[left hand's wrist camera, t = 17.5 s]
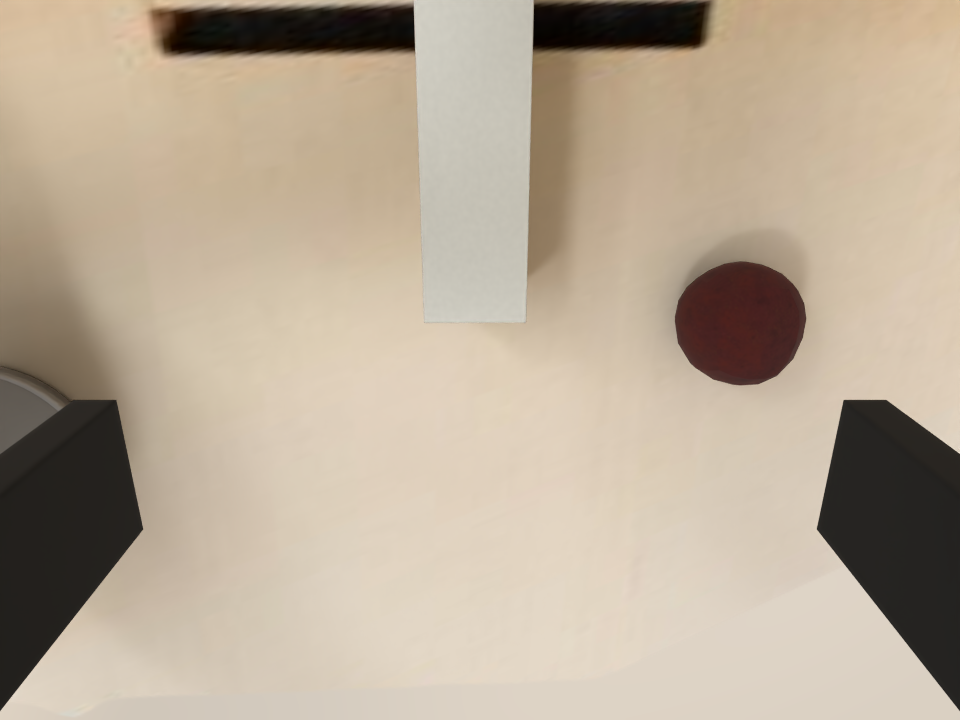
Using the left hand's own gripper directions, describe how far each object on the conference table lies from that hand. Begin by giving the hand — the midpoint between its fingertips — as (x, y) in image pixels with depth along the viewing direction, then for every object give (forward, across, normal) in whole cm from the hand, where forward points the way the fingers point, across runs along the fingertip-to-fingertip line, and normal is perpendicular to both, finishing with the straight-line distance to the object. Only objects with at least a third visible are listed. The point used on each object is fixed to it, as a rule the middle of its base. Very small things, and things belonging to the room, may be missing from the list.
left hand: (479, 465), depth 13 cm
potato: (+33, -16, +7) cm, 37 cm away
